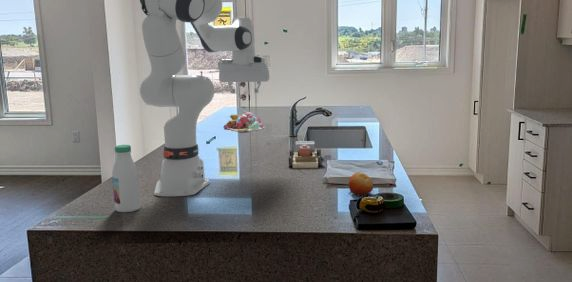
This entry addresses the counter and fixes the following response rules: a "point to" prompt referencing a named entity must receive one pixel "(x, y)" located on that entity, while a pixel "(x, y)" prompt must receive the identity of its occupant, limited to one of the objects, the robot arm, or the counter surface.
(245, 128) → the candy plate
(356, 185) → the fruit
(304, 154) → the block
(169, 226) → the counter surface
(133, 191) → the milk bottle
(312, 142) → the chassis
